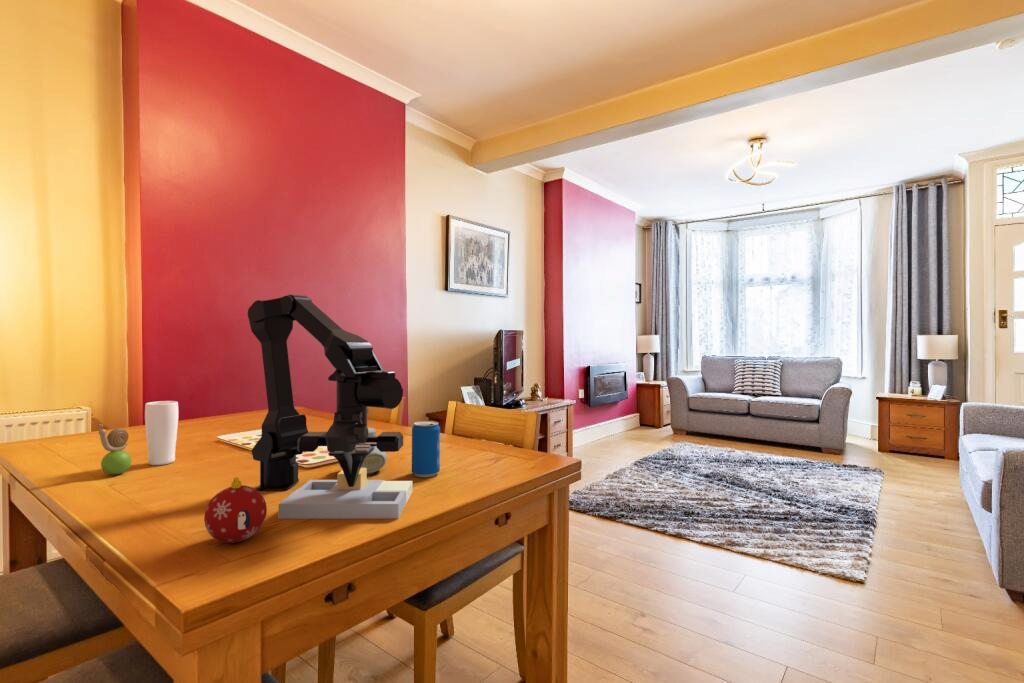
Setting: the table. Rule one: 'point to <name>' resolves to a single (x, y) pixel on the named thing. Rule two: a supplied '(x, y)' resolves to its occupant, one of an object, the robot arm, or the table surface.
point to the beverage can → (425, 448)
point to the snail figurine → (115, 451)
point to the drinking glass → (161, 431)
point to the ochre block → (358, 484)
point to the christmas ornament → (235, 513)
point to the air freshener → (373, 457)
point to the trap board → (346, 500)
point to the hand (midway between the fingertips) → (351, 486)
